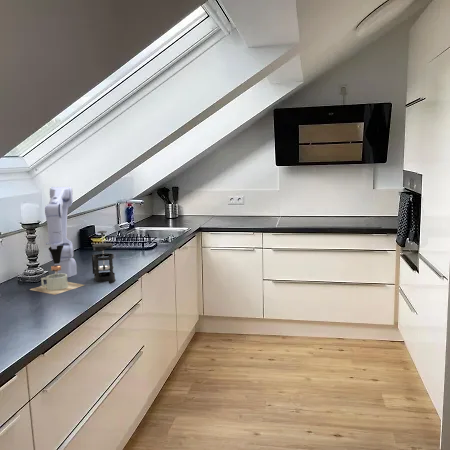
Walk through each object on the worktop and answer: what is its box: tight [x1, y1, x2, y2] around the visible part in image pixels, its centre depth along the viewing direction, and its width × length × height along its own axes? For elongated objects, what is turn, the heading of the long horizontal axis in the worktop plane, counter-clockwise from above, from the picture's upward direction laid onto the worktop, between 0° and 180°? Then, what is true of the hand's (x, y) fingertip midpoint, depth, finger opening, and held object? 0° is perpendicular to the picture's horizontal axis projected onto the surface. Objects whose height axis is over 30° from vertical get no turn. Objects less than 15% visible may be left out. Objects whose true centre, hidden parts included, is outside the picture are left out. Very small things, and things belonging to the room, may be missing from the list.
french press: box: [91, 230, 116, 284], centre depth 211 cm, size 12×9×23 cm
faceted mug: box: [40, 273, 68, 290], centre depth 200 cm, size 11×9×5 cm
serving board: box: [29, 281, 85, 296], centre depth 200 cm, size 16×16×1 cm
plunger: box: [50, 265, 63, 278], centre depth 199 cm, size 6×6×6 cm
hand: (57, 263), depth 204 cm, fingers closed
